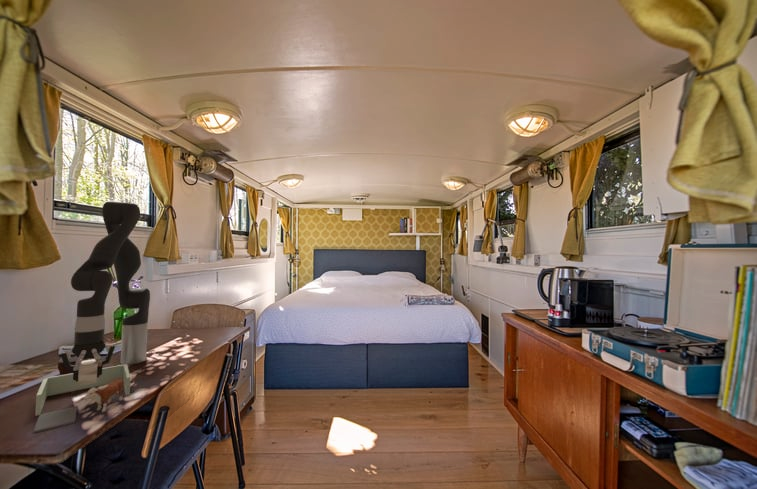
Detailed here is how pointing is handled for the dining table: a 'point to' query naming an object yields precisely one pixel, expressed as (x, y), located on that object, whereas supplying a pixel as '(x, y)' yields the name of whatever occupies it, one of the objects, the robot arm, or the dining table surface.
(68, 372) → the mate gourd
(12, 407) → the dining table surface
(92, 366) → the cream block
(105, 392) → the bull figurine
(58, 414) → the grey rectangular plate
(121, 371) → the green u-shaped frame
